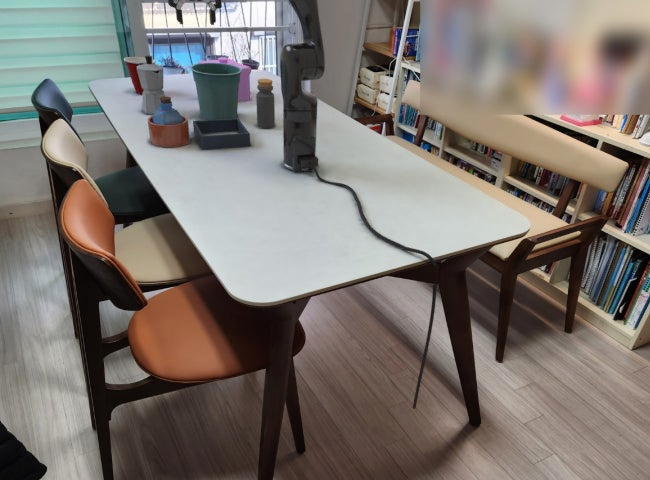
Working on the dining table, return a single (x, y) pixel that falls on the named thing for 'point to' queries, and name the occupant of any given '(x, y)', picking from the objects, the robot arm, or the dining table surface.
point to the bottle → (265, 104)
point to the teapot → (244, 77)
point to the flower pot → (217, 89)
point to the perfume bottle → (166, 113)
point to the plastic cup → (135, 71)
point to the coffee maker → (151, 85)
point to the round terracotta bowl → (169, 133)
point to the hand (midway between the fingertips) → (197, 24)
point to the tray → (221, 140)
